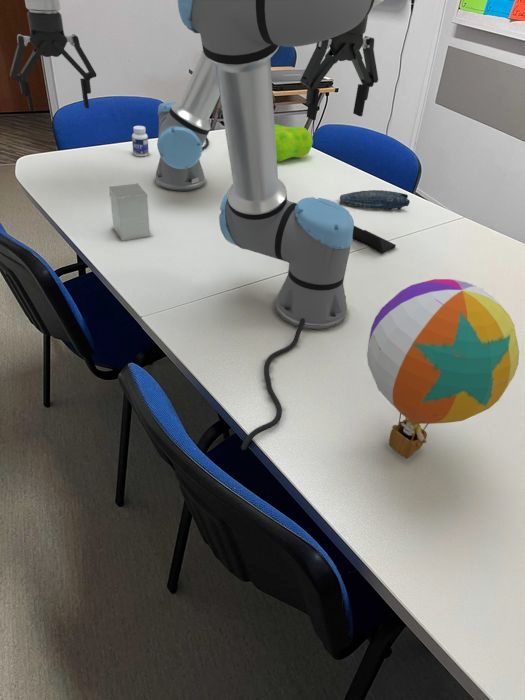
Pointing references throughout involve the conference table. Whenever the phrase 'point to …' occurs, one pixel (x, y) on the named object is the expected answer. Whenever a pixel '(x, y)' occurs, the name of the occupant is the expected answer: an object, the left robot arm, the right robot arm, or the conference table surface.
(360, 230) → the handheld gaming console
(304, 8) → the right robot arm
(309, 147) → the decorative tree
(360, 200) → the fish model
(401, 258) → the conference table surface
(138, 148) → the pill bottle
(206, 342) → the conference table surface
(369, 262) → the conference table surface
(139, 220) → the metal block
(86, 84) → the left robot arm
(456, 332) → the toy
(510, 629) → the conference table surface
